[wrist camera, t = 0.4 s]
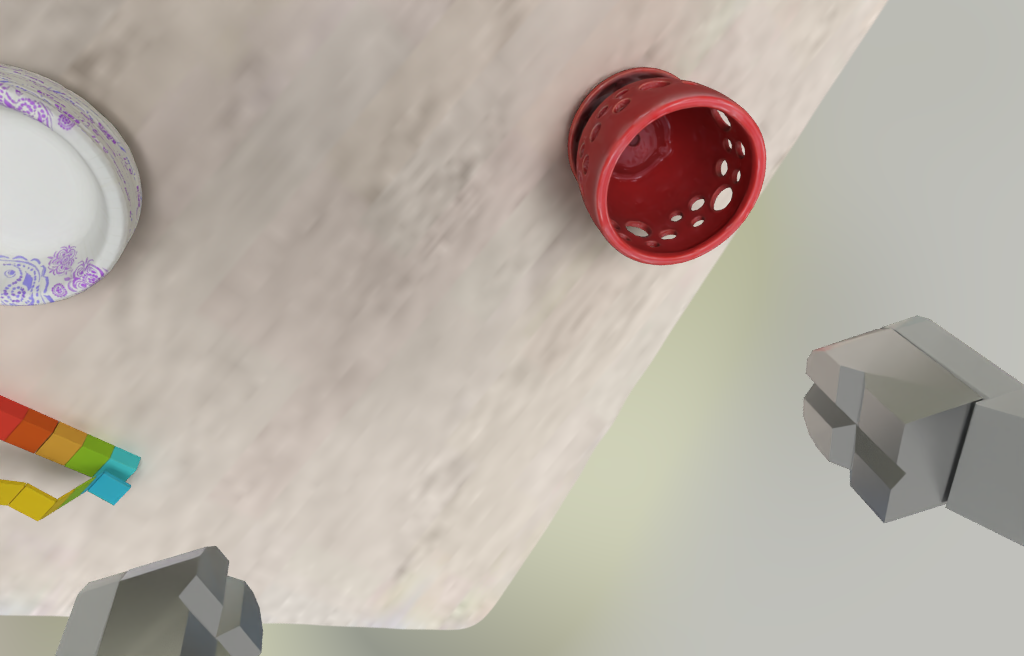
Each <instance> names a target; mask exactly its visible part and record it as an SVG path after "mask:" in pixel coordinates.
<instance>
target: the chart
mask: <svg viewBox="0 0 1024 656" xmlns="http://www.w3.org/2000/svg"><path fill="white" fill-rule="evenodd" d="M57 423H58V421H57V420H55V419H53V418H50V417H48V416H46V415H44V414H41V413H39V412H37V411H35V410H32V409H30V408H28V407H26V406H23V405H21V404H19V403H17V402H14V401H12V400H10V399H7V398H5V397H3V396H1V395H0V440H3V441H5V442H7V443H10V444H12V445H15V446H17V447H20V448H22V449H24V450H27V451H29V452H32V453H35V452H36V453H35V454H37V455H39V456H42V457H44V458H46V459H49V460H51V461H54V462H56V463H59V464H61V465H65V467H68V468H70V469H73V470H75V471H78V472H80V473H83V474H85V475H87V476H90V477H92V478H91V479H90V480H88V481H86V482H85V483H83V484H81V485H80V486H78V487H76V488H75V489H73V490H71V491H70V492H68V493H67V494H65V495H63V496H62V497H60V498H58V499H56V498H54V497H52V496H50V495H49V494H47V493H45V492H43V491H41V490H39V489H37V488H36V487H34V486H32V485H30V484H28V483H27V484H26V483H24V482H17V481H9V480H1V479H0V505H8V504H9V505H8V506H9V507H11V508H13V509H15V510H17V511H19V512H21V513H23V514H25V515H27V516H29V517H31V518H32V519H34V520H36V521H39V520H41V519H43V518H44V517H46V516H47V515H49V514H51V513H52V512H54V511H55V510H57V509H59V508H60V507H62V506H63V505H65V504H67V503H68V502H70V501H71V500H73V499H75V498H76V497H78V496H79V495H81V494H83V493H84V492H86V491H87V490H88V492H90V493H92V494H94V495H96V496H98V497H99V498H101V499H103V500H105V501H107V502H109V503H110V504H112V505H115V504H116V503H117V502H118V500H119V499H120V498H121V497H122V496H123V495H124V494H125V493H126V492H127V491H128V490H129V489H130V488H131V485H130V484H128V483H126V482H125V481H126V480H127V479H128V478H129V477H130V476H131V475H132V474H133V473H134V472H135V471H136V470H137V467H138V464H139V461H140V458H141V457H138V456H136V455H134V454H132V453H129V452H127V451H125V450H123V449H120V448H118V447H116V446H114V445H111V444H109V443H107V442H105V441H102V440H100V439H98V438H95V437H93V436H91V435H89V434H88V435H87V434H86V433H84V432H82V431H80V430H77V429H75V428H73V427H71V426H68V425H66V424H64V423H62V422H59V423H58V424H57Z"/></svg>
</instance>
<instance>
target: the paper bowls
mask: <svg viewBox="0 0 1024 656" xmlns="http://www.w3.org/2000/svg"><path fill="white" fill-rule="evenodd" d="M141 206H142V190H141V181H140V176H139V172H138V168H137V166H136V163H135V161H134V158H133V155H132V153H131V151H130V148H129V146H128V145H127V144H126V143H125V141H124V140H123V138H122V137H121V135H120V134H119V132H118V131H117V130H116V128H115V127H114V126H113V125H112V124H111V123H110V122H109V121H108V120H107V119H106V118H105V117H104V116H102V115H101V114H100V113H99V112H98V111H97V110H96V109H95V108H94V107H93V106H92V105H90V104H89V103H88V102H87V101H86V100H84V99H83V98H82V97H80V96H78V95H77V94H75V93H74V92H72V91H71V90H68V89H66V88H65V87H63V86H62V85H61V84H59V83H57V82H55V81H52V80H50V79H49V78H46V77H43V76H41V75H39V74H36V73H34V72H30V71H28V70H25V69H21V68H18V67H15V66H8V65H3V64H0V305H9V306H26V305H39V304H46V303H51V302H56V301H60V300H63V299H67V298H69V297H72V296H74V295H77V294H79V293H81V292H83V291H85V290H87V289H88V288H90V287H91V286H93V285H94V284H96V283H97V282H98V281H99V280H101V279H102V278H103V277H104V276H105V275H106V274H108V273H109V271H110V270H111V269H112V268H113V267H114V265H115V264H116V262H117V261H118V259H119V258H120V256H121V255H122V253H123V251H124V249H125V247H126V245H127V243H128V241H129V240H130V238H131V237H132V235H133V233H134V231H135V229H136V227H137V224H138V221H139V216H140V213H141Z"/></svg>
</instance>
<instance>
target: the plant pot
mask: <svg viewBox="0 0 1024 656" xmlns="http://www.w3.org/2000/svg"><path fill="white" fill-rule="evenodd" d="M717 110H719V111H721V112H723V113H724V114H725V116H726V117H727V118H728V120H729V122H730V124H731V127H730V126H728V125H727V124H726V123H725V122H724V121H723V119H722V118H721V116H720V114H719V113H718V111H717ZM728 139H729V140H730V142H731V144H732V149H731V148H730V147H729V143H728ZM741 143H742V145H743V146H744V148H745V155H744V154H743V152H742V148H741ZM568 157H569V163H570V167H571V169H572V172H573V174H574V176H575V178H576V180H577V181H578V184H579V188H580V192H581V195H582V198H583V201H584V203H585V206H586V208H587V210H588V212H589V214H590V216H591V218H592V220H593V221H594V223H595V224H596V226H597V227H598V229H599V230H600V232H601V233H602V234H603V236H604V237H605V238H606V240H607V241H608V242H609V243H610V244H611V245H612V246H613V247H614V248H615V249H616V250H618V251H619V252H620V253H621V254H623V255H624V256H626V257H628V258H630V259H632V260H635V261H638V262H641V263H646V264H652V265H671V264H677V263H683V262H686V261H689V260H692V259H695V258H697V257H699V256H701V255H703V254H705V253H707V252H709V251H711V250H712V249H714V248H716V247H717V246H718V245H720V244H721V243H722V242H724V241H725V240H726V239H727V238H728V237H730V236H731V235H732V234H733V233H734V232H735V231H736V230H737V229H738V228H739V226H740V225H741V224H742V223H743V222H744V220H745V219H746V218H747V216H748V214H749V213H750V211H751V210H752V208H753V207H754V205H755V203H756V201H757V199H758V196H759V194H760V191H761V188H762V185H763V181H764V177H765V170H766V149H765V144H764V140H763V136H762V133H761V132H760V129H759V127H758V126H757V124H756V123H755V121H754V120H753V119H752V117H751V116H750V115H749V114H748V113H747V112H746V111H745V110H744V109H743V108H742V107H741V106H739V105H738V104H737V103H736V102H734V101H733V100H731V99H730V98H728V97H727V96H725V95H723V94H721V93H720V92H718V91H716V90H713V89H711V88H709V87H706V86H704V85H701V84H698V83H695V82H692V81H686V80H680V79H679V78H678V77H676V76H675V75H673V74H671V73H669V72H666V71H664V70H660V69H656V68H647V67H640V68H632V69H628V70H624V71H621V72H619V73H617V74H614V75H612V76H611V77H609V78H607V79H606V80H604V81H603V82H601V83H600V84H599V85H597V86H596V87H595V88H594V89H593V90H592V91H591V92H590V93H589V94H588V95H587V97H586V98H585V99H584V101H583V102H582V104H581V105H580V107H579V109H578V110H577V112H576V114H575V116H574V119H573V121H572V124H571V128H570V132H569V137H568ZM724 160H726V162H727V166H728V169H727V172H726V174H725V175H724V176H723V175H722V173H721V165H722V163H723V161H724ZM739 170H740V174H741V176H740V180H739V181H738V182H737V174H738V172H739ZM726 188H731V189H732V192H733V194H732V198H731V201H730V202H729V204H728V205H727V206H726V207H725V208H724V209H722V210H714V203H715V200H716V198H717V196H718V195H719V194H720V193H721V191H723V190H724V189H726ZM699 199H704V201H705V202H704V204H703V206H702V207H701V208H699V209H698V210H694V211H692V210H691V207H692V205H693V203H694V202H695V201H697V200H699ZM677 215H680V216H682V218H681V219H680V220H678V221H675V222H674V221H671V218H672V217H674V216H677ZM699 220H704V222H703V223H702V224H701V225H699V226H697V227H693V225H694V224H695V223H696V222H697V221H699ZM626 226H632V227H637V228H640V229H642V230H644V231H646V232H647V233H648V236H645V237H641V236H636V235H634V234H633V233H631V232H629V231H628V230H627V228H626ZM666 235H676V237H675V238H673V239H661V238H662V237H664V236H666ZM651 246H652V247H651Z"/></svg>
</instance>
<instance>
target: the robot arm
mask: <svg viewBox="0 0 1024 656" xmlns="http://www.w3.org/2000/svg"><path fill="white" fill-rule="evenodd" d="M806 374H807V375H808V376H809V377H810V378H811V380H812V381H814V384H813V386H812V387H811V389H810V390H809V391H808V393H807V394H806V396H805V397H804V407H803V416H804V420H805V422H806V426H807V429H808V432H809V435H810V436H811V438H812V439H813V441H814V443H815V445H816V447H817V448H818V449H819V450H820V452H821V453H822V454H823V455H824V456H825V457H826V459H827V460H828V461H829V462H832V463H834V464H837V465H839V466H842V467H845V468H847V469H849V470H850V486H851V487H852V488H853V489H854V490H855V491H856V493H857V494H858V495H859V496H860V497H861V498H862V499H863V500H864V501H865V503H866V504H867V505H868V506H869V507H870V508H871V509H872V510H873V511H874V512H875V514H876V515H877V516H878V517H879V518H880V519H881V520H882V521H883V523H887V522H890V521H893V520H897V519H900V518H903V517H906V516H909V515H912V514H916V513H919V512H922V511H925V510H928V509H932V508H935V507H937V506H941V505H944V504H946V508H947V509H949V510H952V511H953V512H955V513H957V514H960V515H962V516H963V517H965V518H967V519H969V520H972V521H973V522H976V523H978V524H980V525H982V526H984V527H986V528H988V529H990V530H992V531H994V532H996V533H998V534H1000V535H1002V536H1004V537H1006V538H1008V539H1010V540H1012V541H1014V542H1016V543H1018V544H1020V545H1022V546H1024V385H1023V384H1022V383H1021V382H1019V381H1018V380H1017V379H1015V378H1014V377H1012V376H1011V375H1009V374H1008V373H1006V372H1005V371H1004V370H1002V369H1001V368H999V367H998V366H996V365H995V364H993V363H992V362H991V361H989V360H988V359H986V358H985V357H983V356H982V355H981V354H979V353H978V352H976V351H975V350H973V349H972V348H971V347H969V346H968V345H966V344H965V343H963V342H962V341H960V340H959V339H957V338H956V337H954V336H953V335H952V334H950V333H949V332H947V331H946V330H944V329H943V328H942V327H940V326H939V325H937V324H936V323H934V322H933V321H932V320H930V319H928V318H924V317H920V316H915V317H911V318H908V319H905V320H903V321H899V322H896V323H893V324H890V325H887V326H884V327H882V328H880V329H875V330H873V331H869V332H866V333H863V334H861V335H858V336H854V337H852V338H848V339H845V340H842V341H839V342H836V343H833V344H830V345H828V346H825V347H821V348H818V349H815V350H813V351H812V352H811V354H810V355H809V357H808V359H807V367H806ZM228 566H229V560H228V559H227V558H226V557H225V556H224V555H223V553H222V552H221V551H220V550H219V549H218V548H217V546H211V547H204V548H201V549H197V550H194V551H191V552H187V553H184V554H181V555H177V556H174V557H171V558H167V559H164V560H160V561H157V562H154V563H150V564H147V565H144V566H140V567H137V568H133V569H130V570H129V571H126V572H123V573H119V574H116V575H113V576H109V577H106V578H102V579H99V580H96V581H92V582H89V583H88V584H87V585H86V586H85V587H84V588H83V589H82V590H81V591H80V592H79V594H78V595H77V598H76V600H75V603H74V606H73V609H72V611H71V614H70V617H69V619H68V622H67V625H66V628H65V630H64V633H63V636H62V639H61V641H60V644H59V647H58V650H57V652H56V655H55V656H259V655H260V654H261V650H262V636H263V629H262V621H261V614H260V608H259V605H258V603H257V601H256V598H255V596H254V593H253V592H252V590H251V589H250V588H249V586H248V585H247V584H246V582H245V581H242V580H239V579H236V578H233V577H230V576H227V573H228Z"/></svg>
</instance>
